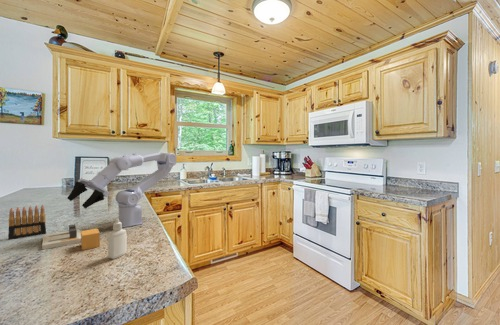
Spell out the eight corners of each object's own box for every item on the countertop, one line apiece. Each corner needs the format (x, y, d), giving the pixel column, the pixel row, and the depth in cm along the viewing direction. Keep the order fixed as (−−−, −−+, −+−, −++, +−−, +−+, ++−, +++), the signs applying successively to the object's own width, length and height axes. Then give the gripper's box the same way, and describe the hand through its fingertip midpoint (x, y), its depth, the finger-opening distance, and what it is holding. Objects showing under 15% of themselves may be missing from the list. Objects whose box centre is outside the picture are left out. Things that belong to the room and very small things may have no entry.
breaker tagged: (76, 235, 87) (76, 228, 87) (76, 237, 85) (76, 230, 85) (69, 236, 86) (69, 229, 86) (69, 238, 83) (69, 231, 83)
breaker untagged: (75, 230, 92) (75, 224, 92) (75, 232, 90) (75, 226, 90) (68, 231, 91) (68, 225, 91) (69, 233, 88) (69, 227, 88)
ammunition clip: (8, 239, 86) (7, 208, 86) (9, 238, 87) (8, 207, 87) (45, 234, 93) (45, 205, 92) (46, 232, 94) (45, 204, 94)
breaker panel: (79, 232, 94) (79, 229, 94) (82, 242, 84) (82, 237, 84) (44, 238, 87) (43, 234, 87) (42, 249, 77) (42, 245, 77)
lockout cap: (97, 241, 85) (97, 228, 85) (99, 246, 80) (99, 232, 80) (81, 244, 82) (80, 231, 82) (82, 250, 77) (82, 235, 77)
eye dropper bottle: (129, 254, 74) (129, 218, 74) (109, 260, 70) (109, 222, 70) (125, 250, 77) (124, 216, 77) (106, 255, 73) (105, 219, 73)
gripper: (86, 166, 95) (56, 190, 87) (113, 179, 92) (85, 205, 84) (94, 176, 101) (66, 200, 92) (119, 188, 98) (94, 214, 89)
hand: (76, 203), depth 88 cm, fingers open, 7 cm apart
